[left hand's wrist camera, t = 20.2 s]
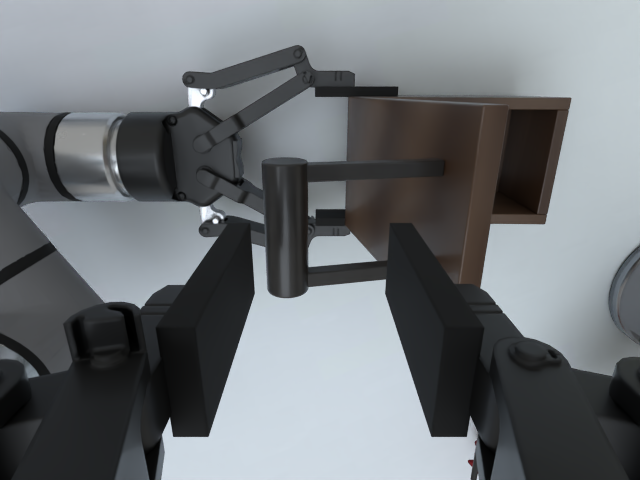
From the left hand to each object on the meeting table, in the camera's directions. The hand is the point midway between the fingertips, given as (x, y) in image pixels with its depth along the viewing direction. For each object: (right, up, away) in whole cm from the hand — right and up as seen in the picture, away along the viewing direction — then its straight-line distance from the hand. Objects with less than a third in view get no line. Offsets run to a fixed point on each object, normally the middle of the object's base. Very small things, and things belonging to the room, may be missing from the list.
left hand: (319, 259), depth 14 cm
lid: (+5, +4, +10) cm, 12 cm away
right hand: (+6, +8, +21) cm, 23 cm away
